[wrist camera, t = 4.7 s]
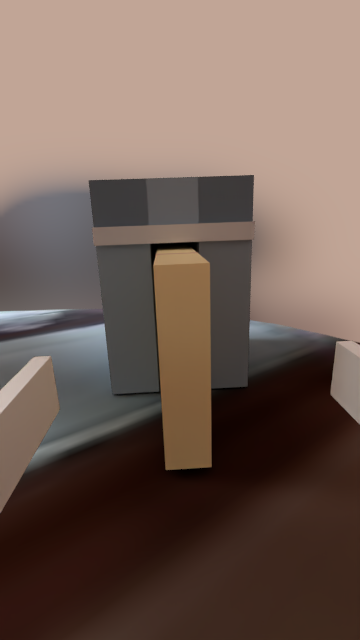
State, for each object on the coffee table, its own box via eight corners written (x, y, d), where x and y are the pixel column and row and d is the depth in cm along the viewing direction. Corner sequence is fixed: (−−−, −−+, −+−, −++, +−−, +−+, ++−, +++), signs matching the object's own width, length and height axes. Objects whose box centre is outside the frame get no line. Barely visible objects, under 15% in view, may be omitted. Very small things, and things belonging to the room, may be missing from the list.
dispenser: (249, 390, 25) (256, 173, 21) (111, 398, 25) (86, 179, 20) (221, 337, 37) (222, 192, 33) (128, 341, 37) (115, 196, 32)
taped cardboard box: (212, 467, 17) (210, 262, 14) (164, 470, 17) (152, 265, 14) (190, 356, 31) (187, 243, 28) (164, 358, 31) (158, 245, 28)
